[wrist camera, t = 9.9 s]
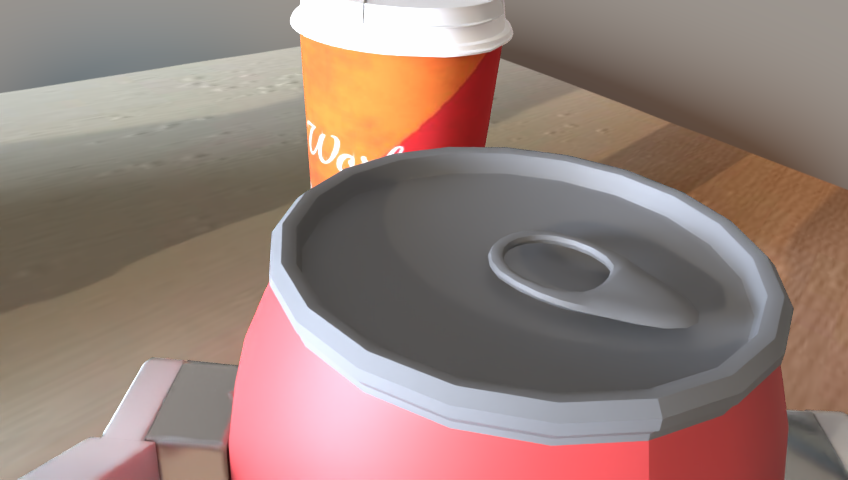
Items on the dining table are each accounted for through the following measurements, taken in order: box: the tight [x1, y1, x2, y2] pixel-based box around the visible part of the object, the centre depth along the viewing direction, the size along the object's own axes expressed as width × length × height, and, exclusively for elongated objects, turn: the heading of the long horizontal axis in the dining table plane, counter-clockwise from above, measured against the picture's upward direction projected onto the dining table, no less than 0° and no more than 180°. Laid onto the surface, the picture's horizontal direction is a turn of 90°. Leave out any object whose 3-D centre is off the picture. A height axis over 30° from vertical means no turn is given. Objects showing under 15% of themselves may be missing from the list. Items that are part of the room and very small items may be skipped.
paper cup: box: [290, 0, 513, 188], centre depth 30 cm, size 8×8×14 cm
